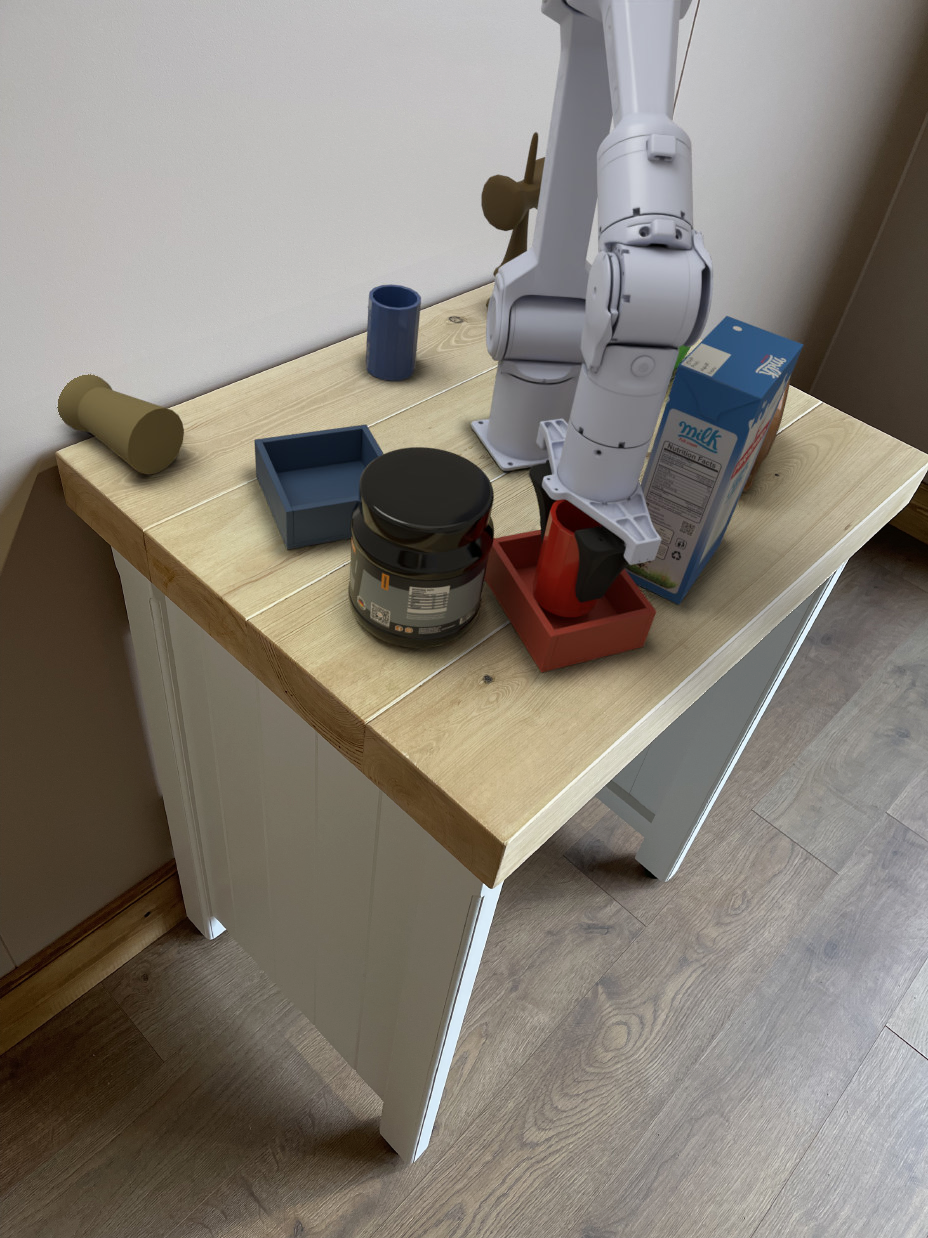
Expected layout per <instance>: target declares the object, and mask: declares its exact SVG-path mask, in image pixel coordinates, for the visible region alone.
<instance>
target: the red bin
mask: <svg viewBox="0 0 928 1238" xmlns="http://www.w3.org/2000/svg"><path fill="white" fill-rule="evenodd" d="M541 548H542V542H541V528H540V529H535V530H530V531H526V532H524V531H523V532H520V533H514V534H510V535H504V536H499V537H494V540H493V544H492V548H491V550H490V552H489V557H488V563H487V568H486V574H485V579H484V582H485V583H486V584H487V586H488V588H489V589H490V591H491V593H492V594H493V596H494V598H495V599H496V601H497V603H498V604H499V605H500V608H501V609H502V610H503V612H504V614H505V615H506V617H507V619H508V621H509V622H510V624H511V625H512V627H513V629H514V631H515V632H516V633H517V635H518V637H519V638H520V640H521V642H522V643H523V645H524V647H525V649H526V650H527V652H528V653H529V655H530V657H531V658H532V660H533V662H534V663H535V665H536V666H537V668H538V669H539V671H540V673H544V672H549V671H552V670H557V669H561V668H565V667H569V666H572V665H577V664H580V663H581V664H582V663H584V662H589V661H593V660H597V659H600V658H604V657H608V656H613V655H616V654H620V653H625V652H629V651H632V650H636V649H640V648H643V647H644V646H645V644H646V641H647V638H648V636H649V633H650V630H651V627H652V626H653V622H654V620H655V617H656V615H657V610H656V608H655V607H654V606H653V604H652V603H651V601H649V599H648V598H647V597H646V595H645V594H644V593H643V591H642V590H641V589H640V586H639V585H637V584H635V582H634V581H633V580H632V578H631V577H630V576H629V574H628V573H627V572H626V570H625V569H624V570H623V571H622V572H621V573H620V574H619V575H618V576H617V578H616V579H615V580H614V581H613V583H612V584H611V585H610V587H609V588H608V590H607V591H606V593H605V594H604V595H603V597H602V598H600V599H597V602H596V605H595V607H594V608H593V609H592V610H591V611H590V612H589V613H587V614H585V615H582V616H579V617H563V616H558V615H555V614H553V613H550V612H548V611H547V610H545V609H544V608H542V607H541V606H540V605H539V604H538V603H537V601H536V600H535V598H534V596H533V591H532V589H533V581H534V577H535V573H536V569H537V564H538V560H539V556H540V552H541Z"/></svg>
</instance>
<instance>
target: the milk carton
mask: <svg viewBox="0 0 928 1238" xmlns="http://www.w3.org/2000/svg"><path fill="white" fill-rule="evenodd" d="M803 347H804V343H801V342H799V341H795V340H793V339H790V338H788V337H785V336H782V335H780V334H777V333H774V332H772V331H769V330H766V329H765V328H764V329H763V328H761V327H758V326H755V325H753V324H750V323H747V322H745V321H742V320H739V319H737V318H734V317H732V316H729V315H725V317H724V318H723V319H722V320H720V321H719V323H718V324H717V325H716V326H715V327H714V328H713V329H712V330H710V332H709V333H707V335H706V336H705V337H704V338H703V339H702V340H701V341H700V342H699V343H698V344H697V345H696V346H695V347H694V348H693V349H692V350H691V351H690V353H688V354H687V355H686V356H685V357H684V359H683V360H682V362H681V363H680V364H679V365H678V367H677V368H676V371H675V375H674V377H673V381H672V385H671V388H670V391H669V394H668V397H667V400H666V403H665V406H664V409H663V413H662V415H661V419H660V422H659V425H658V429H657V432H656V435H655V438H654V440H653V444H652V447H651V450H650V454H649V457H648V460H647V463H646V467H645V470H644V473H643V475H642V479H641V482H640V485H641V488H642V492H643V495H644V498H645V502H646V505H647V508H648V512H649V515H650V518H651V521H652V524H653V526H654V528H655V530H656V532H657V533H658V535H659V536H660V537H661V539H662V540H661V543H660V546H659V548H658V551H657V554H656V557H655V560H652V561H647V562H644V563H639V564H633V565H630V564H629V565H628V566H627V567H626V568H625V570H626V572H627V573H628V574H629V576H630V577H631V578H632V580H633V581H634V582H635V584H636V585H637V586H638V587H641V588H643V589H645V590H648V591H649V592H651V593H654V594H655V595H657V596H659V597H662V598H663V599H666V600H668V601H670V602H672V603H674V604H676V605H678V606H679V605H681V603H682V601H683V600H684V598H685V597H686V596H687V594H688V593H689V591H690V589H691V588H692V586H694V584H695V582H696V581H697V579H698V578H699V577H700V575H701V574H702V572H703V571H704V569H705V568H706V566H707V565H708V563H709V562H710V560H711V559H712V558H713V556H714V554H715V553H716V552H717V550H718V549H719V547H720V546H721V544H722V541H723V538H724V536H725V534H726V532H727V530H728V527H729V524H730V522H731V520H732V517H733V515H734V513H735V510H736V508H737V506H738V503H739V500H740V498H741V495H742V493H743V492H744V491H743V489H744V486H745V484H746V481H747V479H748V477H749V474H750V472H751V469H752V467H753V465H754V462H755V460H756V457H757V455H758V453H759V450H760V448H761V445H762V443H763V441H764V438H765V436H766V433H767V431H768V429H769V426H770V424H771V421H772V419H773V417H774V414H775V412H776V410H777V407H778V405H779V402H780V400H781V398H782V395H783V393H784V390H785V388H786V386H787V383H788V381H790V379H791V376H792V373H793V371H794V369H795V367H796V364H797V362H798V360H799V357H800V354H801V352H802V350H803Z"/></svg>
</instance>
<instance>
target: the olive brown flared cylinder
mask: <svg viewBox="0 0 928 1238" xmlns="http://www.w3.org/2000/svg"><path fill="white" fill-rule="evenodd" d="M91 374H92V373H90V375H89V374H88V375H82V376H79V377H77V378H74V379H73V380H71V381H70V382H69V383H67V385H66V386H65V387H64V389H63V390H62V392H61V394H60V396H59V399H58V407H57V408H58V412H59V414H58V416H59V415H60V416H59V417H60V419H61V418H62V419H61V421H62V422H63V423H64V424H65V425H67V426H69V427H70V428H72V429H73V430H75V431H80V432H84V433H90V434H91V435H93V436H94V437H95V438H96V439H98V440H99V441H100V442H101V443H102V444H104V445H105V446H106V447H107V448H109V449H110V450H111V451H112V452H113V453H114V454H116V455H117V456H118V457H119V458H121V459H122V460H123V461H125V462H126V464H128V465H130V466H131V467H132V468H133V469H134V470H135V471H137V472H138V473H140V474H143V475H154V474H158V473H160V472H162V471H164V470H165V469H167V468H168V467H169V466H170V465H171V464H172V463H173V462H174V461H175V460H176V458H177V456H178V455H179V453H180V451H181V448H182V446H183V442H184V435H185V430H184V424H183V421H182V419H181V417H180V415H179V414H178V413H176V411H174V410H173V409H171V408H167V407H164V406H161V405H158V404H156V403H152V402H150V401H146V400H143V399H140V398H137V397H135V396H131V395H128V394H125V393H122V392H120V391H116V390H113V388H112V386H111V385H110V384H109V382H107V381H106V380H105V379H103V378H102V377H100V376H99V377H98V375H97V376H95V375H96V374H93V375H91ZM57 408H56V409H57ZM58 412H57V413H58Z"/></svg>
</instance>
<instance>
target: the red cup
mask: <svg viewBox="0 0 928 1238" xmlns="http://www.w3.org/2000/svg"><path fill="white" fill-rule="evenodd" d="M597 526H599V527H601V526H602V524H600V523H599V522H597V521H596V520H594V519H593V518H592V517H590V516H589V515H587V514H586V513H585V512H583V511H582V510H580V509H579V508H578V507H576V506H575V505H573V504H572V503H571V502H569V501H568V500H565V499H562V500H557V501H555V502H554V503H553V505H552V507H551V510H550V514H549V518H548V522H547V526H546V531H545V535H544V539H543V543H542V548H541V552H540V556H539V560H538V564H537V569H536V573H535V577H534V581H533V589H532V591H533V596H534V598H535V600H536V601H537V603H538V604H539V605H540V606H541V607H542V608H544V609H545V610H547V611H548V612H550V613H553V614H555V615H558V616H563V617H579V616H582V615H585V614H587V613H589V612H590V611H591V610H592V609H593V608H594V607H595V605H596V602H597V599H595V600H591V601H587V602H582V603H581V602H579V601H578V599H577V598H576V593H575V587H576V581H577V576H578V570H579V550H578V545H577V541H576V538H575V536H574V534H575V531H577V530H582V529H587V528H592V527H597Z"/></svg>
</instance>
